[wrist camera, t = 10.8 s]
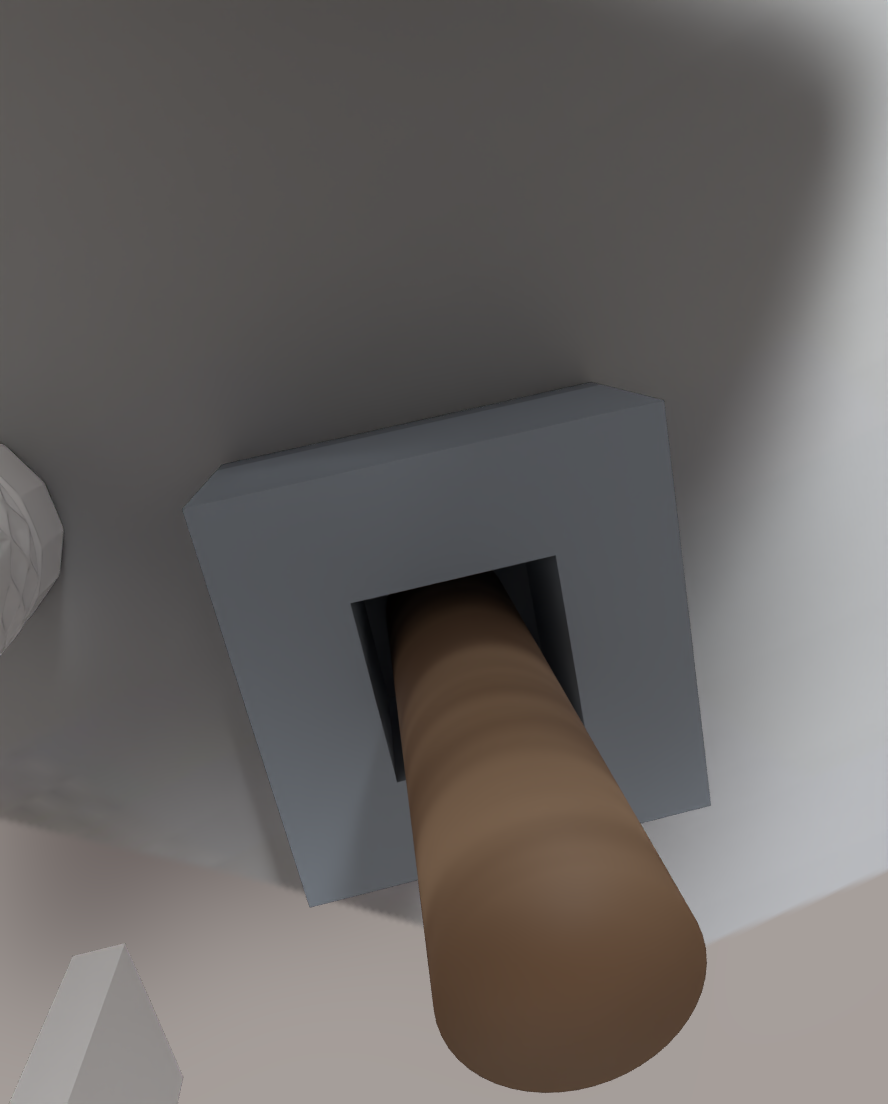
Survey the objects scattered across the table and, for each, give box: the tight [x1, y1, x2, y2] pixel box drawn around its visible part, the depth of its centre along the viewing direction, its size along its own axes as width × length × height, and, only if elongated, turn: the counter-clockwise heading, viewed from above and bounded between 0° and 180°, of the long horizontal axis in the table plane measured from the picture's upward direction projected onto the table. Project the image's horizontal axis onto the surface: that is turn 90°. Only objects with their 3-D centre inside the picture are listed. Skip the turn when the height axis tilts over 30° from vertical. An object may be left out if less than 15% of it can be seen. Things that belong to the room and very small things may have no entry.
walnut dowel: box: [386, 570, 707, 1093], centre depth 18 cm, size 4×4×15 cm
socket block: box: [182, 382, 711, 907], centre depth 23 cm, size 12×12×6 cm
